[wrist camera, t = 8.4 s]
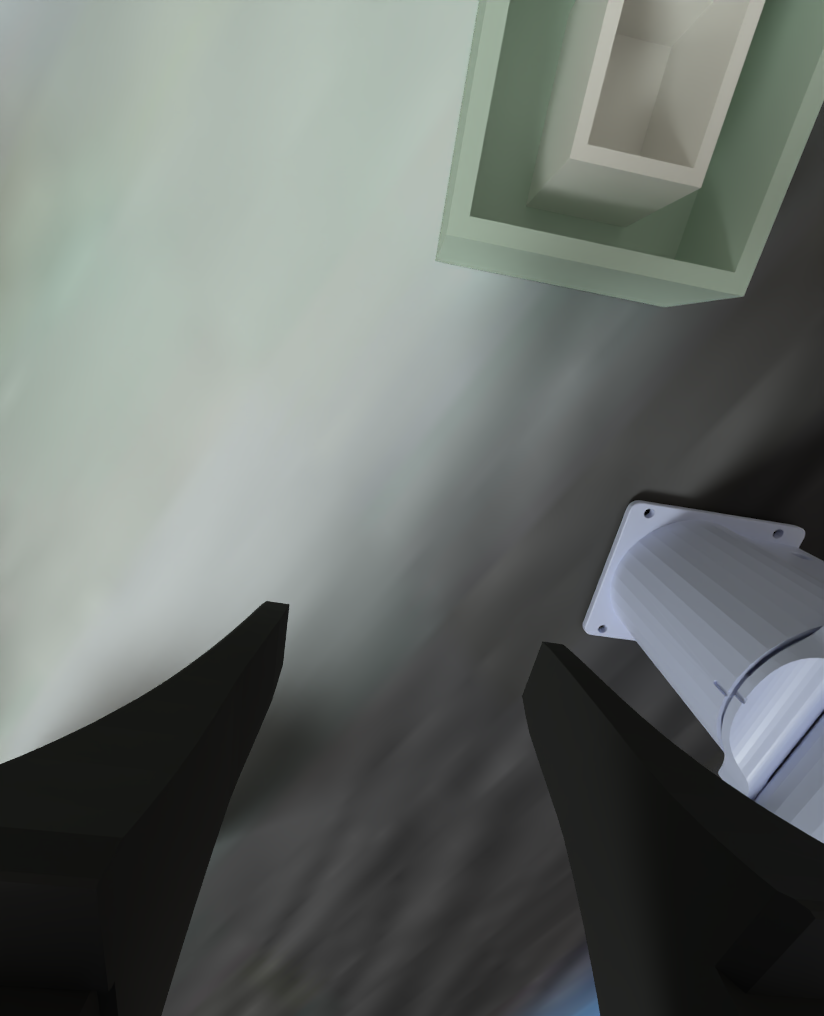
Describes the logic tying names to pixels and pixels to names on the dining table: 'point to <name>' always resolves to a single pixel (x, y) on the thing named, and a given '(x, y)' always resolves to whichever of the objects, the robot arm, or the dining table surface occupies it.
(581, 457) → the dining table surface
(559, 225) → the big crate
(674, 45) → the small crate
